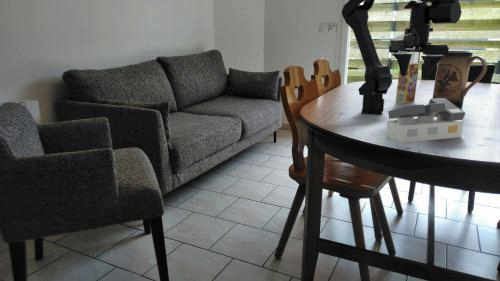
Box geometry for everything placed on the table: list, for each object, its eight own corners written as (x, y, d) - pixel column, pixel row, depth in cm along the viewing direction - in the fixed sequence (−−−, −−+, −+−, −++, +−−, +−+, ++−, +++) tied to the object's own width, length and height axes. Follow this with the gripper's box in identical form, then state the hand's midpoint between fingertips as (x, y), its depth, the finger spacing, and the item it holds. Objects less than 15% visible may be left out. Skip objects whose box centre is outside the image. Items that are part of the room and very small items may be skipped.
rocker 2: (409, 117, 96) (408, 109, 96) (423, 116, 97) (422, 108, 97) (430, 112, 88) (429, 103, 89) (446, 111, 89) (444, 102, 90)
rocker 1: (389, 118, 95) (388, 110, 95) (403, 117, 96) (402, 109, 96) (409, 113, 87) (408, 105, 87) (425, 112, 88) (424, 104, 88)
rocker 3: (427, 105, 98) (430, 98, 96) (441, 104, 99) (444, 97, 97) (447, 121, 91) (451, 113, 90) (462, 119, 92) (465, 112, 91)
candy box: (405, 104, 141) (410, 64, 137) (395, 103, 144) (398, 63, 140) (415, 101, 147) (419, 62, 143) (404, 100, 150) (408, 62, 146)
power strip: (385, 137, 95) (387, 115, 94) (443, 131, 100) (446, 111, 98) (400, 143, 90) (403, 120, 88) (461, 137, 94) (464, 115, 93)
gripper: (376, 25, 114) (372, 76, 118) (420, 23, 97) (414, 82, 101) (406, 25, 117) (401, 74, 121) (453, 23, 100) (445, 80, 104)
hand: (413, 78), depth 112 cm, fingers open, 9 cm apart
